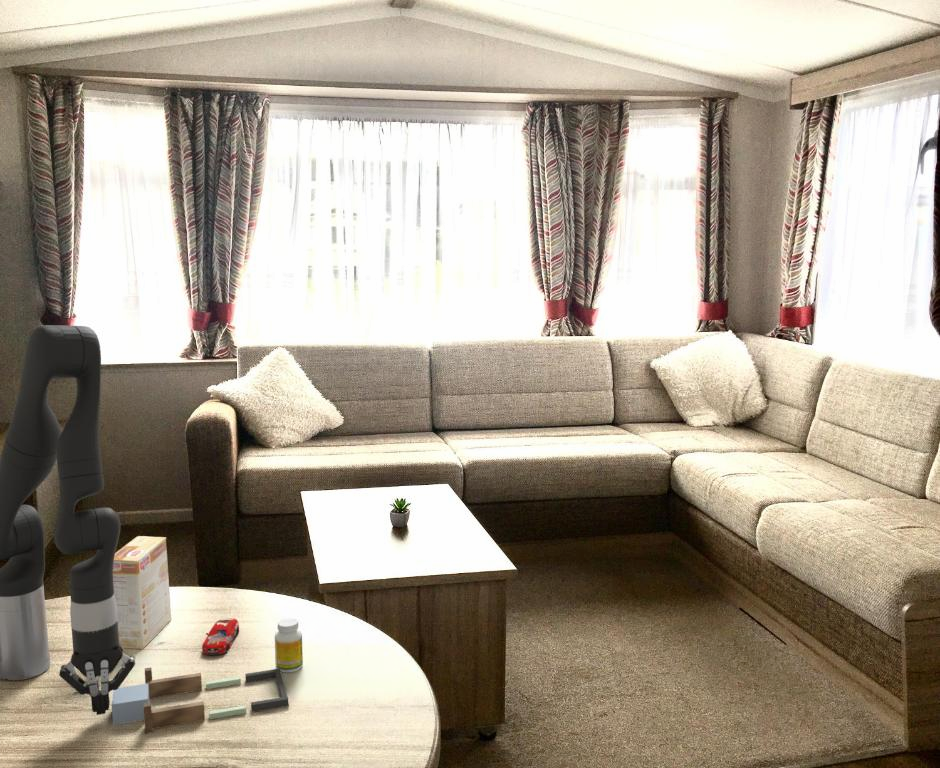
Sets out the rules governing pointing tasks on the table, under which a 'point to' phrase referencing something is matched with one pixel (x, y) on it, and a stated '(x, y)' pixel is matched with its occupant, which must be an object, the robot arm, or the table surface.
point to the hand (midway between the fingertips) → (101, 712)
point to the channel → (173, 713)
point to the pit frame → (271, 702)
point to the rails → (228, 710)
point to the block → (129, 703)
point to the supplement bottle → (288, 646)
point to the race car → (221, 636)
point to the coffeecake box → (141, 590)
